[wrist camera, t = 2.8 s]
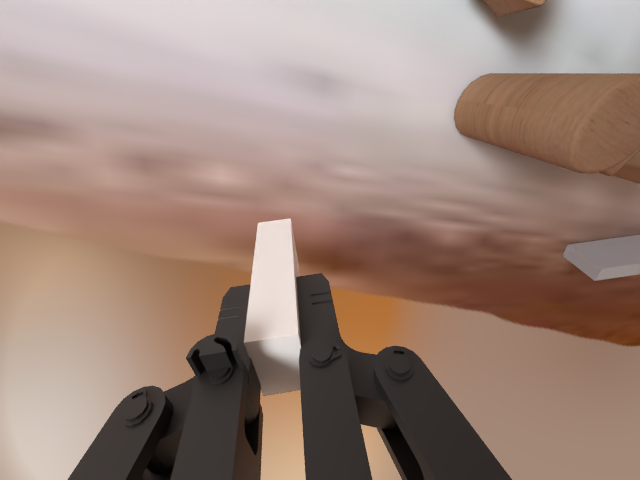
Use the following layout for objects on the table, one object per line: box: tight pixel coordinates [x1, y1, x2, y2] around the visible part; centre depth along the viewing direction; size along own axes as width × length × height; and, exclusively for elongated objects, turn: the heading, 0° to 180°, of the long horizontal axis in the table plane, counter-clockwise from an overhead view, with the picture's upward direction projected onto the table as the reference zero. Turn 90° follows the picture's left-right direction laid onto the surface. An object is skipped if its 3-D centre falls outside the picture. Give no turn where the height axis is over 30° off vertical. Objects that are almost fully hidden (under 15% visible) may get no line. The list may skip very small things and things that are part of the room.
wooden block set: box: [454, 0, 640, 184], centre depth 17 cm, size 18×9×10 cm, turn 56°
